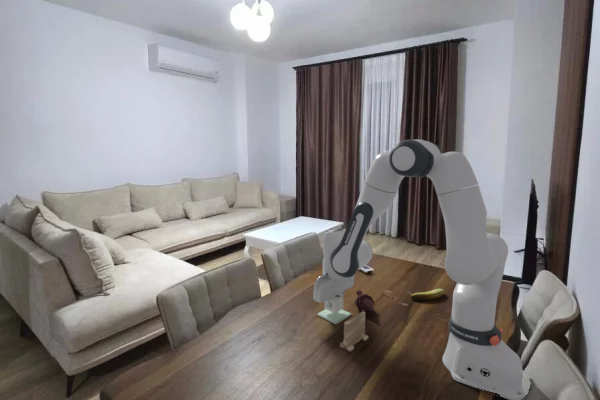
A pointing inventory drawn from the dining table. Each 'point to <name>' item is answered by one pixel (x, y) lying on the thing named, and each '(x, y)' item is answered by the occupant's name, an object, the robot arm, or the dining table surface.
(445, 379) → the dining table surface
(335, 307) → the letter cube
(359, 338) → the oak screen
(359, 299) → the maroon gnome figurine
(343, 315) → the green tile
